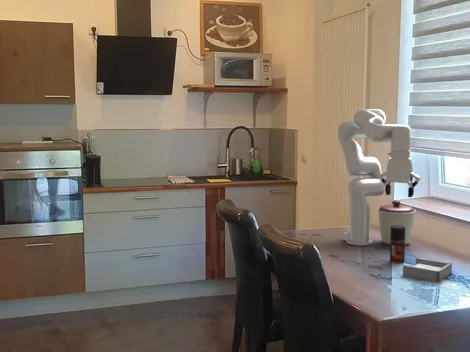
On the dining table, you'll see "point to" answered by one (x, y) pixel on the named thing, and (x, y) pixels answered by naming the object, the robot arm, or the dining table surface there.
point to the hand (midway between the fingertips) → (399, 195)
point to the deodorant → (397, 244)
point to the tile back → (422, 266)
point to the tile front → (434, 268)
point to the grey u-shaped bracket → (428, 270)
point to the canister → (395, 220)
